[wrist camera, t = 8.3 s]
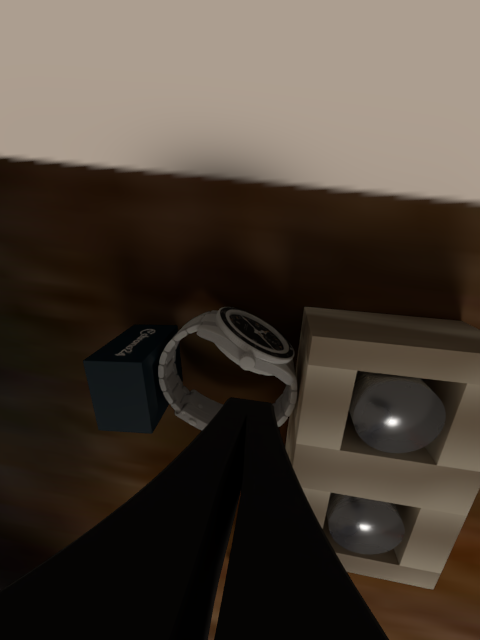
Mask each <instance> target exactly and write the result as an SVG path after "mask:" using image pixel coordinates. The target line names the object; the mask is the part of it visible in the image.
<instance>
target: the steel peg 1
mask: <svg viewBox="0 0 480 640" xmlns="http://www.w3.org/2000/svg"><path fill="white" fill-rule="evenodd" d="M349 413H350V415H351V418H352V421H353V424H354V426H355V429H356V432H357V433H358V435H359V437H360V438H361V439H362V440H363V441H364V442H365V443H366V444H368V445H369V446H371V447H373V448H375V449H377V450H380V451H383V452H388V453H407V452H412V451H415V450H418V449H421V448H423V447H425V446H426V445H428V444H430V443H431V442H432V441H433V440H434V439H436V438H437V436H438V435H439V434H440V432H441V431H442V429H443V427H444V424H445V419H446V413H445V408H444V405H443V403H442V401H441V400H440V398H439V397H438V396H437V395H436V394H435V393H434V392H433V391H432V390H431V388H430V387H429V386H428V385H427V384H426V383H425V382H424V381H423V380H422V379H421V378H416V377H407V376H399V375H390V374H382V373H373V372H365V371H357V374H356V379H355V383H354V388H353V392H352V397H351V401H350V406H349Z"/></svg>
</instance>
